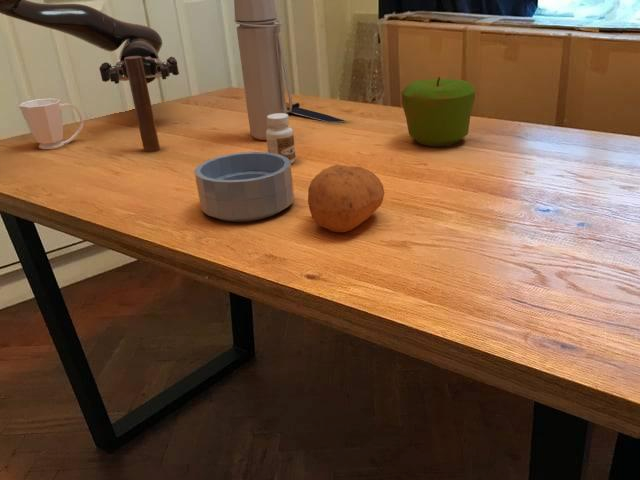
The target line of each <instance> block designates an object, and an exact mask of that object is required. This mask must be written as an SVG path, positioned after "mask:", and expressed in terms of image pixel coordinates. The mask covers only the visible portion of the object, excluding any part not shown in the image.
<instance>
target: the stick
mask: <svg viewBox="0 0 640 480" xmlns="http://www.w3.org/2000/svg"><path fill="white" fill-rule="evenodd" d="M124 60H125V64H126V69H127V74H128V78H129V80H128V82H129V83H128V84H129V87H130V92H131V97H132V101H133V106H134V111H135V115H136V120H137V124H138V129H139V134H140V138H141V143H142V144H141V145H142V149H143V152H146V153H152V152H153V153H154V152H158V151H159V150H161V146H160V142H159V136H158V131H157V126H156V122H155V117H154V112H153V107H152V103H151V97H150V92H149V88H148V87H149V86H148V83H147V81H146V76H145V72H144V67H143V62H142V57H141V56H130V57H125V58H124Z"/></svg>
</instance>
